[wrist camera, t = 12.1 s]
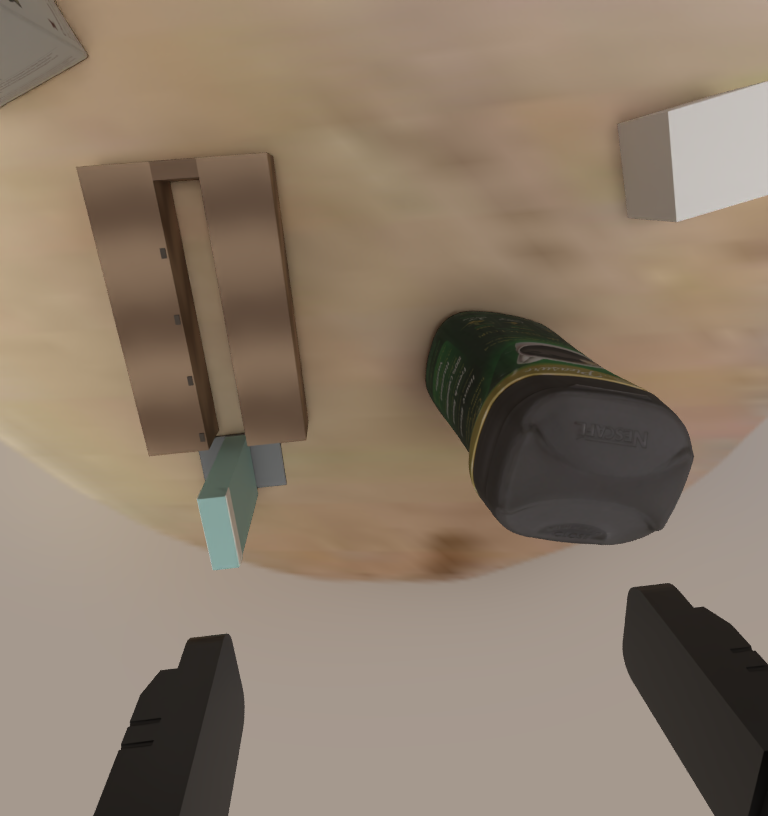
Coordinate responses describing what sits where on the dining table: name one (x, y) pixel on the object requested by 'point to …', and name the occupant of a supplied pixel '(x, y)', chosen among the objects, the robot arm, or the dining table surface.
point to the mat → (263, 459)
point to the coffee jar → (556, 433)
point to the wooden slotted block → (173, 303)
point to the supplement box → (33, 46)
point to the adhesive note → (696, 155)
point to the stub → (228, 503)
